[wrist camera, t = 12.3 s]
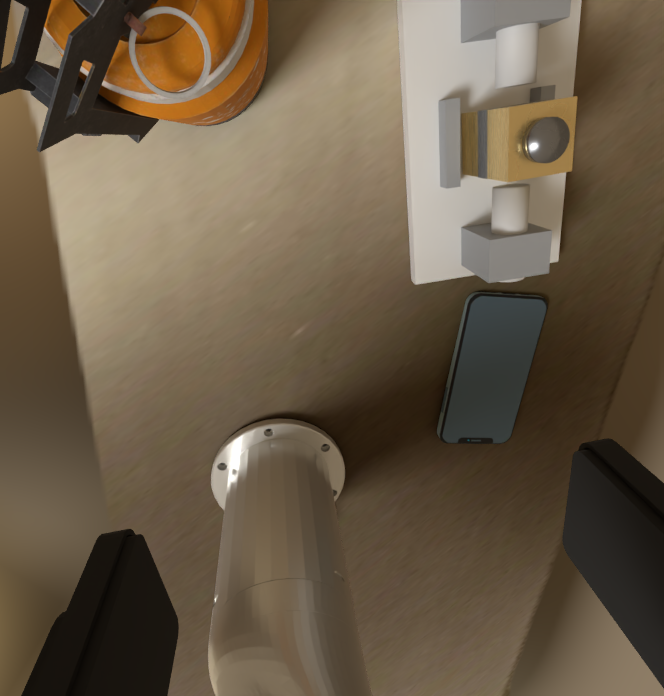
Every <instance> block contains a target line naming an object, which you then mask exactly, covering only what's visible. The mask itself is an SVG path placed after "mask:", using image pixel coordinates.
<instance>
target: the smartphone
mask: <svg viewBox="0 0 664 696" xmlns="http://www.w3.org/2000/svg"><path fill="white" fill-rule="evenodd" d="M547 306H548V303H547V301H546V300H545V299H544V298H543V297H541V296H537V295H529V294H527V295H526V294H514V293H500V292H499V293H495V292H494V293H493V292H483V291H482V292H481V291H479V292H474V293H472V294H470V295H469V296H468V298H467V300H466V302H465V306H464V310H463V315H462V319H461V323H460V328H459V332H458V336H457V341H456V345H455V349H454V354H453V358H452V362H451V367H450V371H449V376H448V380H447V384H446V389H445V394H444V398H443V403H442V408H441V413H440V417H439V422H438V427H437V434H438V436H439V438H440V439H441V441H442V442H444V443H466V444H501V443H505V442H507V441H508V440H509V439H510V437H511V435H512V432H513V428H514V424H515V421H516V417H517V414H518V410H519V407H520V403H521V400H522V396H523V393H524V389H525V386H526V382H527V379H528V375H529V372H530V368H531V364H532V361H533V357H534V354H535V350H536V347H537V343H538V340H539V336H540V333H541V329H542V326H543V322H544V319H545V315H546V311H547Z"/></svg>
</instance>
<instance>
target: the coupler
mask: <svg viewBox="0 0 664 696" xmlns="http://www.w3.org/2000/svg"><path fill="white" fill-rule="evenodd" d="M576 110H577V96H574V97H567V98H560V99H553V100H550V99H549V100H542V101H535V102H529V103H523V104H517V105H511V106H505V107H498V108H492V109H486V110H480V111H474V112H468V113H462V114H461V124H462V169H463V174H464V175H470V176H475V177H478V178H483V179H492V180H498V181H503V182H513V181H519V180H524V179H530V178H536V177H542V176H547V175H553V174H559V173H565V172H570V171H572V163H573V150H574V136H575V123H576Z"/></svg>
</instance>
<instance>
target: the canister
mask: <svg viewBox="0 0 664 696" xmlns="http://www.w3.org/2000/svg"><path fill="white" fill-rule="evenodd" d="M15 1H17V2H19V3H20V4H22V5H24V6H26V9H25V12H24V16H23V20H22V23H21V27H20V31H19V35H18V38H17V42H16V46H15V50H14V54H13V57H12V61H11V63H10V64H9V65H7V66H5V67H4V68H2V69H1V64H2V57H3V51H4V43H5V37H6V30H7V24H8V17H9V10H10V4H11V0H0V95H1V94H4V93H7V92H10V91H13V90H16V89H23V90H28V91H30V93H31V95H33V96H34V97H35V98H36V99H38V100H39V101H40V102H41V103H43V104H44V105H45V106H47V107H48V112H47V115H46V119H45V122H44V126H43V130H42V133H41V137H40V140H39V144H38V147H37V151H39V152H41V151H43V150H45V149H47V148H49V147H51V146H53V145H55V144H56V143H58V142H60V141H62V140H64V139H66V138H68V137H70V136H72V135H74V134H82V135H83V136H101V135H102V134H115V135H128V136H130V137H131V138H132V139H133V140H135V141H136V142H137V143H139V142H140V141H141V140H142V139H143V137H144V136H145V135H146V134H147V133H148V132H149V131H150V130H151V128H152V127H153V126H154V125H155V124H156V123H157V122H158V121H159V120H158V119H163V120H168V121H174V122H179V123H185V124H190V125H196V126H211V125H218V124H221V123H224V122H228V121H230V120H232V119H233V118H235V117H237V116H238V115H240V114H241V113H242V112H243V111H245V110H246V109H247V108H248V107H249V105H250V104H251V103H252V102H253V101H254V99H255V97H256V96H257V94H258V93H259V91H260V88H261V86H262V84H263V81H264V77H265V74H266V70H267V61H268V0H15ZM43 31H44V32H45V34H46V35H47V37H48V38H49V39H50V41H51V42H52V43H53V44H54V45H55V47H56V48H57V49H58V51H59V52H60V54H61V56H62V57H63V58H62V61H61V65H60V69H59V68H56V67H53V66H50V65H47V64H44V63H41V62H38V61H35V60H36V56H37V52H38V48H39V45H40V41H41V37H42V34H43Z"/></svg>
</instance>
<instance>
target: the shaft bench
mask: <svg viewBox="0 0 664 696" xmlns="http://www.w3.org/2000/svg"><path fill="white" fill-rule="evenodd" d="M581 2H582V0H397V13H398V32H399V52H400V71H401V90H402V109H403V129H404V148H405V167H406V186H407V205H408V225H409V244H410V263H411V281H412V282H413V283H414V284H415V285H417V284H423V283H429V282H435V281H441V280H448V279H454V278H460V277H466V276H472V275H477V276H479V277H480V278H482V279H483V280H485V281H486V282H488V283H492V282H515V281H520V280H522V279H524V278H525V277H529V276H535V275H541V274H547V273H549V265H550V263H552V262H558V258H559V247H560V236H561V225H562V214H563V203H564V192H565V181H566V172H565V173H559V174H553V175H547V176H542V177H536V178H530V179H524V180H519V181H513V182H503V181H498V180H492V179H483V178H478V177H475V176H470V175H464V174H463V169H462V124H461V114H462V113H468V112H474V111H480V110H486V109H492V108H498V107H505V106H511V105H517V104H523V103H529V102H535V101H542V100H549V99H550V100H553V99H560V98H567V97H573V91H574V80H575V69H576V58H577V47H578V36H579V25H580V14H581Z"/></svg>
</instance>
